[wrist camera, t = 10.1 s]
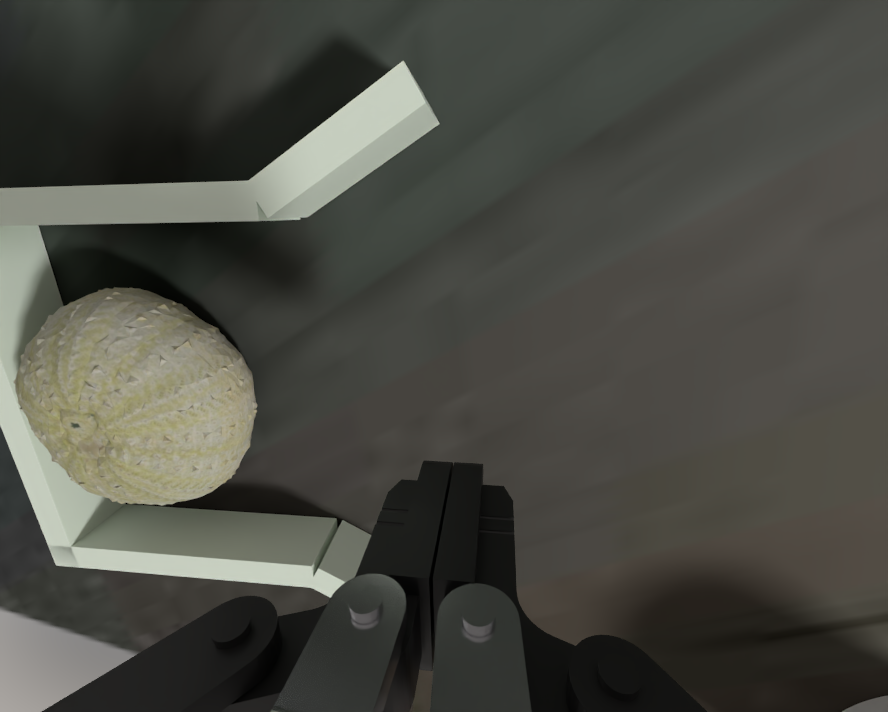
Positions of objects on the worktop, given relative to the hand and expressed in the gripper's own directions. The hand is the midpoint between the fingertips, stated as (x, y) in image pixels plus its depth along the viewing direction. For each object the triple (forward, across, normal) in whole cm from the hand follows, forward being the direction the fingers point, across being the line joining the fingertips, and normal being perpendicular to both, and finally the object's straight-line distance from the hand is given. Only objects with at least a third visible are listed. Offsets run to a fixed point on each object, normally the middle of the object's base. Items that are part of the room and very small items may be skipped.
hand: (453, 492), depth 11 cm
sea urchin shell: (+8, +14, +1) cm, 16 cm away
